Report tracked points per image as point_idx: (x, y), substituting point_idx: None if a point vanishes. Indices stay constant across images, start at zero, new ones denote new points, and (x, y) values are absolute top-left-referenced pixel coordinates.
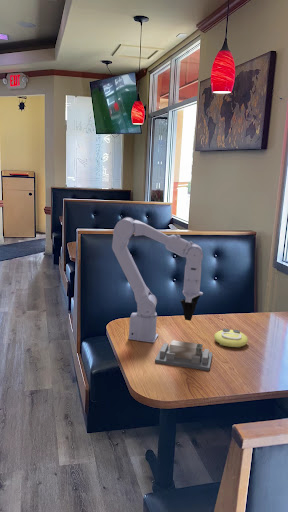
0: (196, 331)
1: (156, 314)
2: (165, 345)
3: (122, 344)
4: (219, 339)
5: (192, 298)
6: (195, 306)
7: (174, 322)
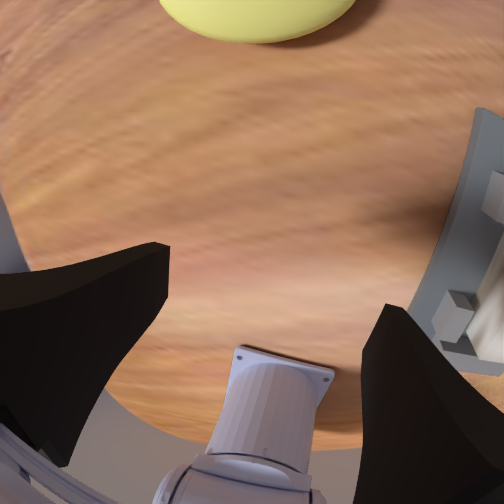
0: (129, 148)
1: (266, 465)
2: (460, 361)
3: (344, 439)
4: (318, 16)
5: (53, 382)
6: (115, 271)
7: (66, 250)
